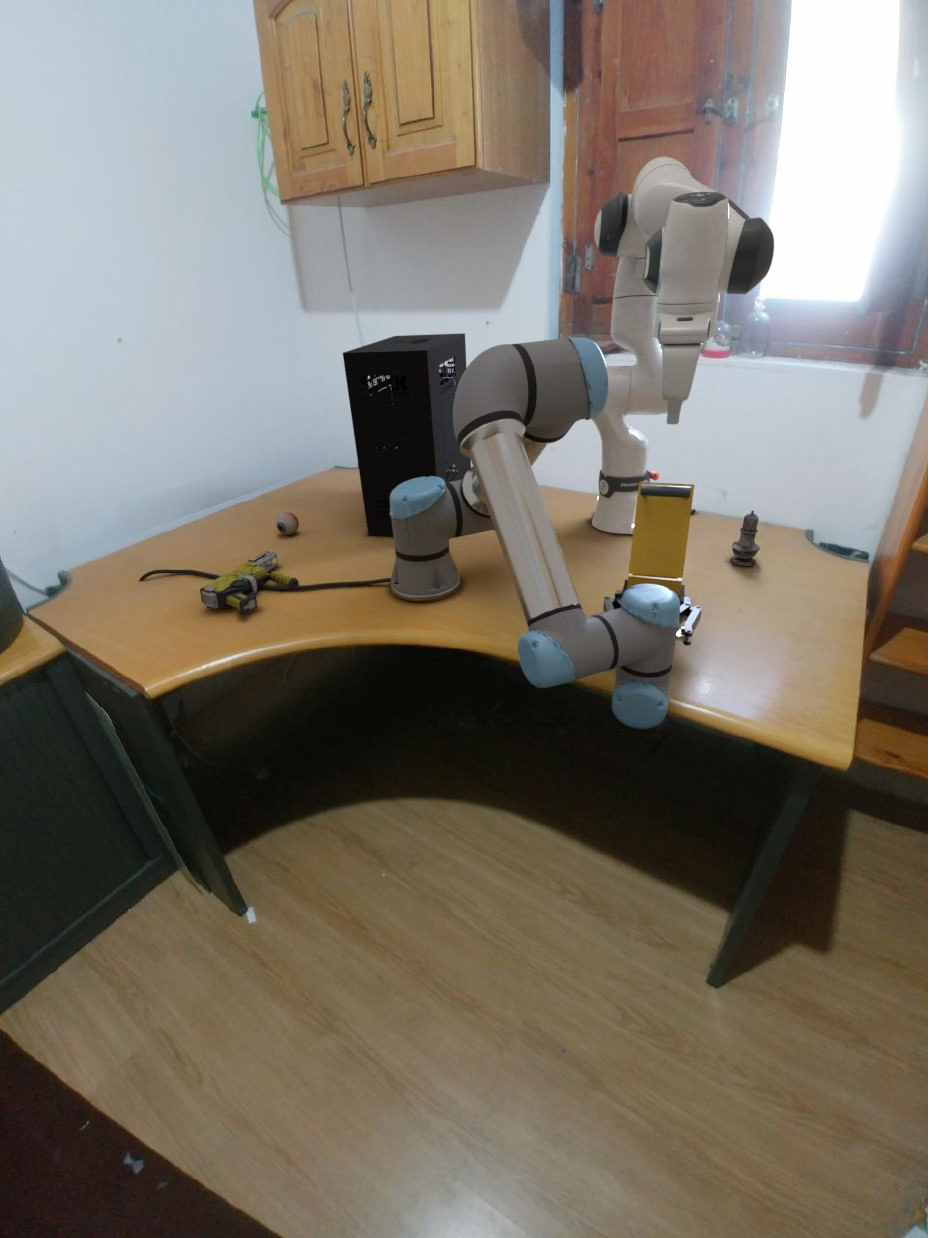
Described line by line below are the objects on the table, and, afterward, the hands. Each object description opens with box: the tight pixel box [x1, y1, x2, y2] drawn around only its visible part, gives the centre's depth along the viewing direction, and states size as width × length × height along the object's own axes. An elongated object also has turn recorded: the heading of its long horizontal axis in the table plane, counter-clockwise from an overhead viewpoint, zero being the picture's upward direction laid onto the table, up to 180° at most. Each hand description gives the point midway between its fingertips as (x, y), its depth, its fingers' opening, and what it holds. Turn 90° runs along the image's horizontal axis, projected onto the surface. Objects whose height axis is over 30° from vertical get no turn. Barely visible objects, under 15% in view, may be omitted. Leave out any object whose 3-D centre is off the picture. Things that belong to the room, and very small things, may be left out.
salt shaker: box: [729, 509, 761, 567], centre depth 133 cm, size 6×6×12 cm
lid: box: [628, 481, 695, 579], centre depth 103 cm, size 16×9×9 cm
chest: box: [627, 572, 683, 597], centre depth 117 cm, size 15×9×11 cm, turn 162°
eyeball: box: [275, 511, 300, 536], centre depth 163 cm, size 6×6×6 cm
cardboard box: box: [342, 333, 472, 537], centre depth 164 cm, size 38×20×45 cm, turn 167°
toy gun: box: [199, 550, 300, 616], centre depth 135 cm, size 5×24×15 cm
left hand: (653, 588), depth 113 cm, fingers closed on chest, 9 cm apart
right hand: (673, 418), depth 97 cm, fingers open, 5 cm apart
